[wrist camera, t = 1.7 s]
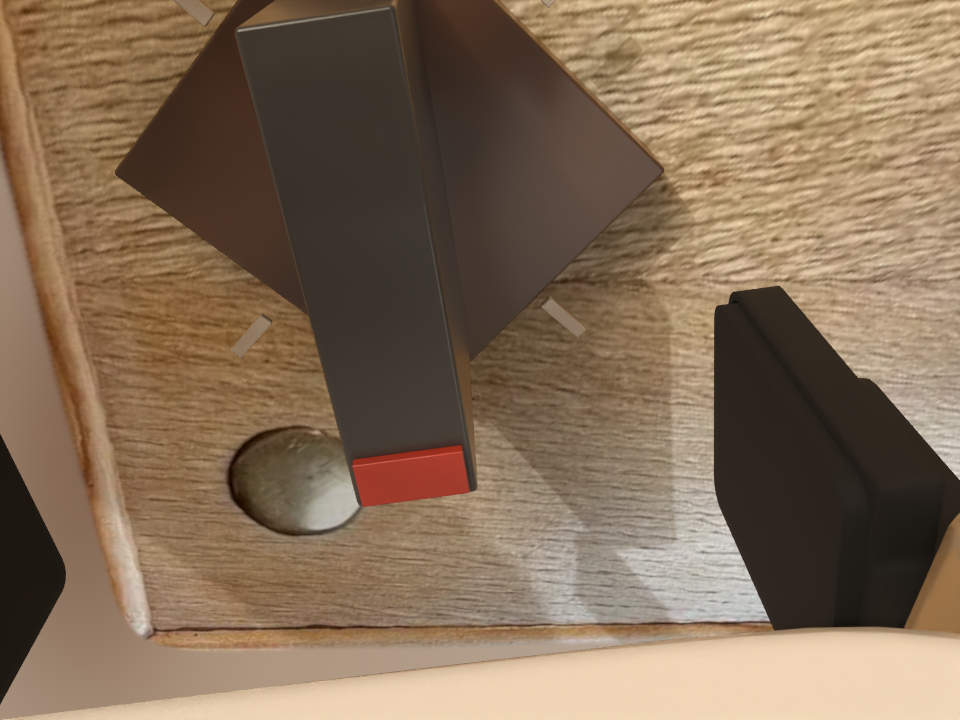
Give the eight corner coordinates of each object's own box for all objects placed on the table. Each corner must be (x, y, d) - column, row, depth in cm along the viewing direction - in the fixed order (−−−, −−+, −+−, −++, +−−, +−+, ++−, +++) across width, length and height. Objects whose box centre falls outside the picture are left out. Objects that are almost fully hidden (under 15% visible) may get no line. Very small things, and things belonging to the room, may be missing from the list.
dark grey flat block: (300, -20, 18) (227, 30, 12) (409, -37, 18) (394, 5, 12) (379, 341, 23) (357, 516, 16) (468, 329, 23) (478, 500, 16)
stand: (41, 170, 22) (4, 196, 20) (354, -292, 18) (344, -313, 16) (424, 440, 27) (423, 482, 25) (748, 129, 22) (776, 152, 21)
